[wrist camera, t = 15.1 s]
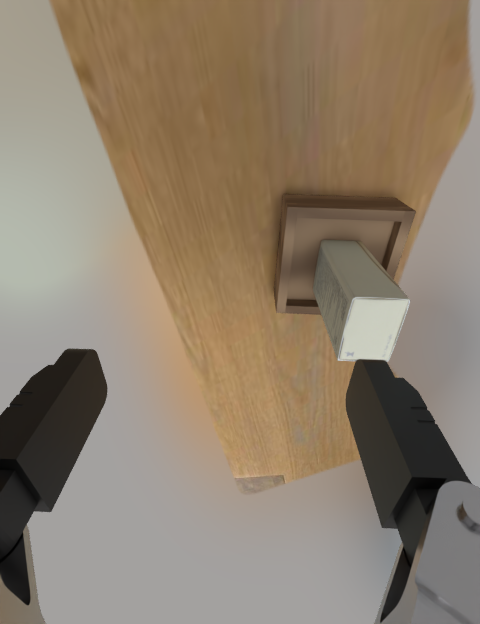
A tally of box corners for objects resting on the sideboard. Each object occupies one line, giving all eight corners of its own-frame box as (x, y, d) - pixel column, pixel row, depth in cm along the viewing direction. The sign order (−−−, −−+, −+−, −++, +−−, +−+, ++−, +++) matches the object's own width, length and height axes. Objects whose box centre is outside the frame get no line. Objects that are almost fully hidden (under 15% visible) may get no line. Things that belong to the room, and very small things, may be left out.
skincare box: (349, 291, 36) (389, 364, 26) (310, 290, 36) (336, 363, 26) (362, 238, 33) (415, 299, 22) (319, 237, 32) (353, 298, 22)
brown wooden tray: (283, 193, 34) (287, 206, 30) (393, 196, 34) (415, 211, 29) (273, 289, 41) (276, 312, 36) (366, 292, 41) (380, 317, 36)
